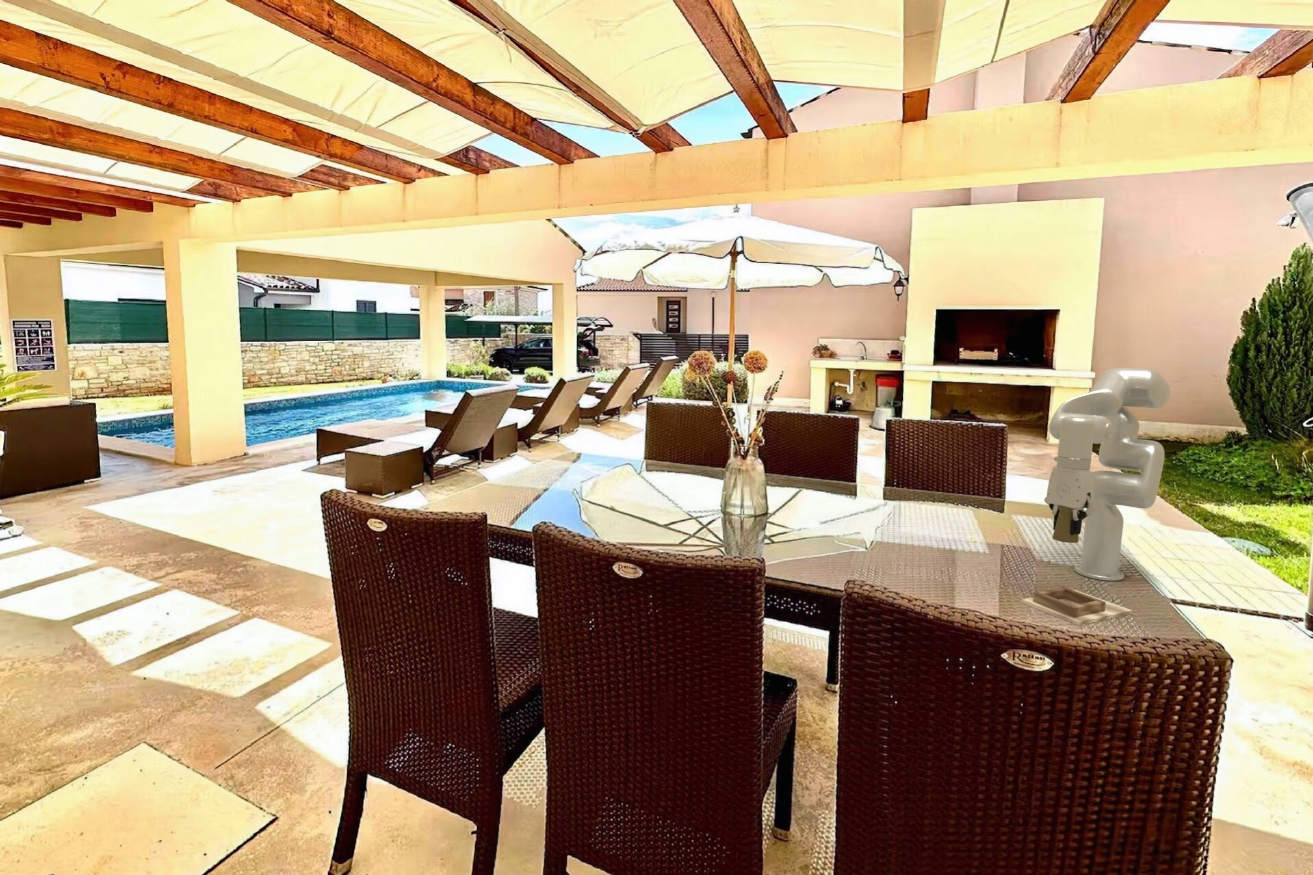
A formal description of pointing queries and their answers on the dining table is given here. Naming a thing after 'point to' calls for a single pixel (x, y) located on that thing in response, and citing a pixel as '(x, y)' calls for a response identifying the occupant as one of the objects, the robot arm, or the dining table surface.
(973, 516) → the dining table surface
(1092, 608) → the socket stand
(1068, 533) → the cork
